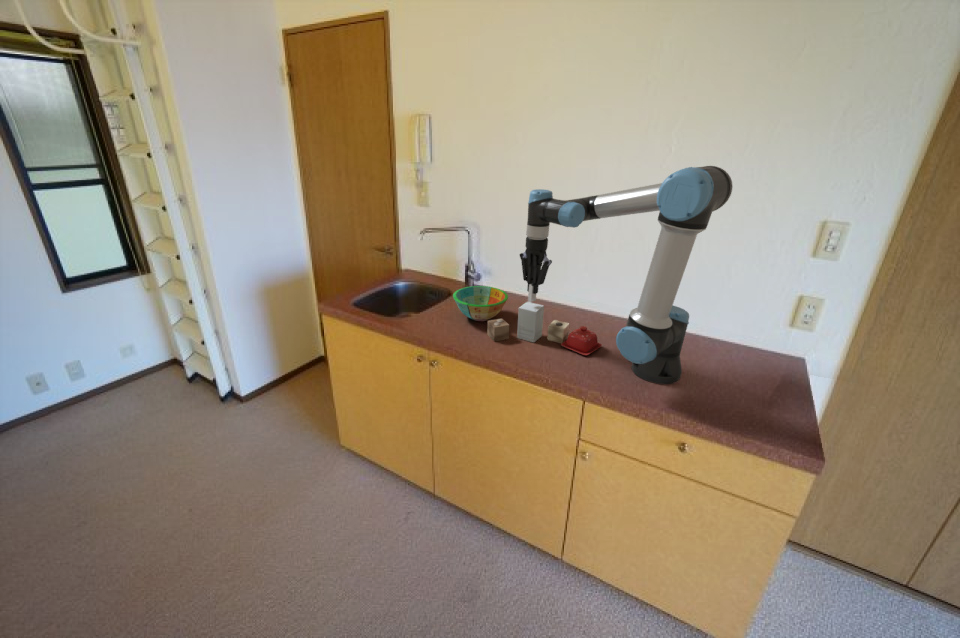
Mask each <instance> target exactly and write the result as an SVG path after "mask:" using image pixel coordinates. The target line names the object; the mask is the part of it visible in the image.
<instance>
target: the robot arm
mask: <svg viewBox="0 0 960 638" xmlns="http://www.w3.org/2000/svg"><path fill="white" fill-rule="evenodd" d="M732 192H733V181H732V177H731V176H730V174H729V173H728V171H726V170H725V169H724V168H722V167H718V166H715V165H705V166H704V165H703V166H694V167H692V166H690V167H685V168H682V169H679V170H677V171H675V172H673V173H671V174H670V175H668V176H667V177H666V178H665V179H664V180H663V181H662V183H661V182H659V183H655V184H650V185H645V186H640V187H639V186H638V187H634V188H629V189H624V190H617V191H613V192H608V193H602V194H601V193H600V194H596V195H589V196H587V197H580V198H573V199H572V198H571V199H567V200H566V199H556V198H553V197H554V196H553V191H552V190H550V189H543V188H542V189H540V188H539V189H531V191H530V192H529V197H528V202H527V204H528V205H527V206H528V208H527V222H526V223H527V224H526V233H525V234H526V237H525V251H523V252H521V253H519V258H520V261H521V268H522V269H521V270H522V278H523V281H525V282H526V283H527V287H526V288H527V292H528V296H527V302H531V303H534V302H536V300H537V294H538V293H539V286H540V285H544V283H545V280H546V277H547V274H548V271H549V268H550V266H551V264H552V263H553V260H551V259H549V258H548V257H547V256H548V254H547V249H548V245H549V244H548V243H549V238H548V237H549V233H550V223H551V224H553V225H554V224H555V225H559V226H563V227H565V228H578V227H579V226H580V225H581V224H582V223H583V222H586V221H591V220H592V221H593V220H600V219H606V218H612V217H621V216H629V215H635V214H644V213H650V212H651V213H652V212H659V213H658V217H657V222H658V223H659V225H660V226H661V228H660V230H659V231H660V232H659V235H658V238H657V242H656V244H655V249H654V252H653V255H652V258H651V262H650V265H649V268H648V271H647V275H646V278H645V282H644V285H643V288H642V291H641V294H640V298H639V301H638V303H637V304H638V305H637V307H635V308H632V310H630V312H629V315H628V318H627V320H626V324H625V326H624V327H622V328H620V330H619V331H618V332H617V334H616V337H615V344H616V347H617V349H618V350H619V352H620V354H621V356H622V357H623V358H624V359H626V360H627V361H629V362H631V370H632V372H633V373H634V374H635V375H636V376H637V377H639V378H641V379H642V380H645V381H647V382H650V383H652V384H659V385H671V384H676V383H678V381H680V379H681V376H682V372H683V371H682V370H683V369H682V363H681V361H682V360H681V352H682V349H683V344H684V340H685V337H686V336H685V335H686V333H687V329H688V325H689V323H690V322H689V320H690V314H689V312H688V311H687V310H685V309H684V308H681V306H680V307H679V306H676V305H674V302H675V299H676V297H677V293H678V291H679V287H680V285H681V281H682V279H683V276H684V273H685V270H686V267H687V265H688V262H689V259H690V257H691V253H692V251H693V248H694V245H695V242H696V239H697V237H698V234H700V233H702V232H704V231H705V230H707V228H708V225H709V222H710V219H711V216H712V214H713V212H715V211H717V210H719V209H721V208H722V207H723V206H724V205H726V203H727V202H728V201H729V199H730V198H731V196H732V194H733V193H732Z"/></svg>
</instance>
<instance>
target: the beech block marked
mask: <svg viewBox="0 0 960 638" xmlns="http://www.w3.org/2000/svg"><path fill="white" fill-rule="evenodd" d="M569 331H570V323H569V322H565V321H561V320H557V319H554V320H552V322H550V324H549V325H548V328H547V336H546V337H547V338H546V340H547V341H550V342H555V343H557V344H560V345H561V344H562V343H563V342H565V341H566V340H567V338H568V335H569V334H570V333H569Z"/></svg>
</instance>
